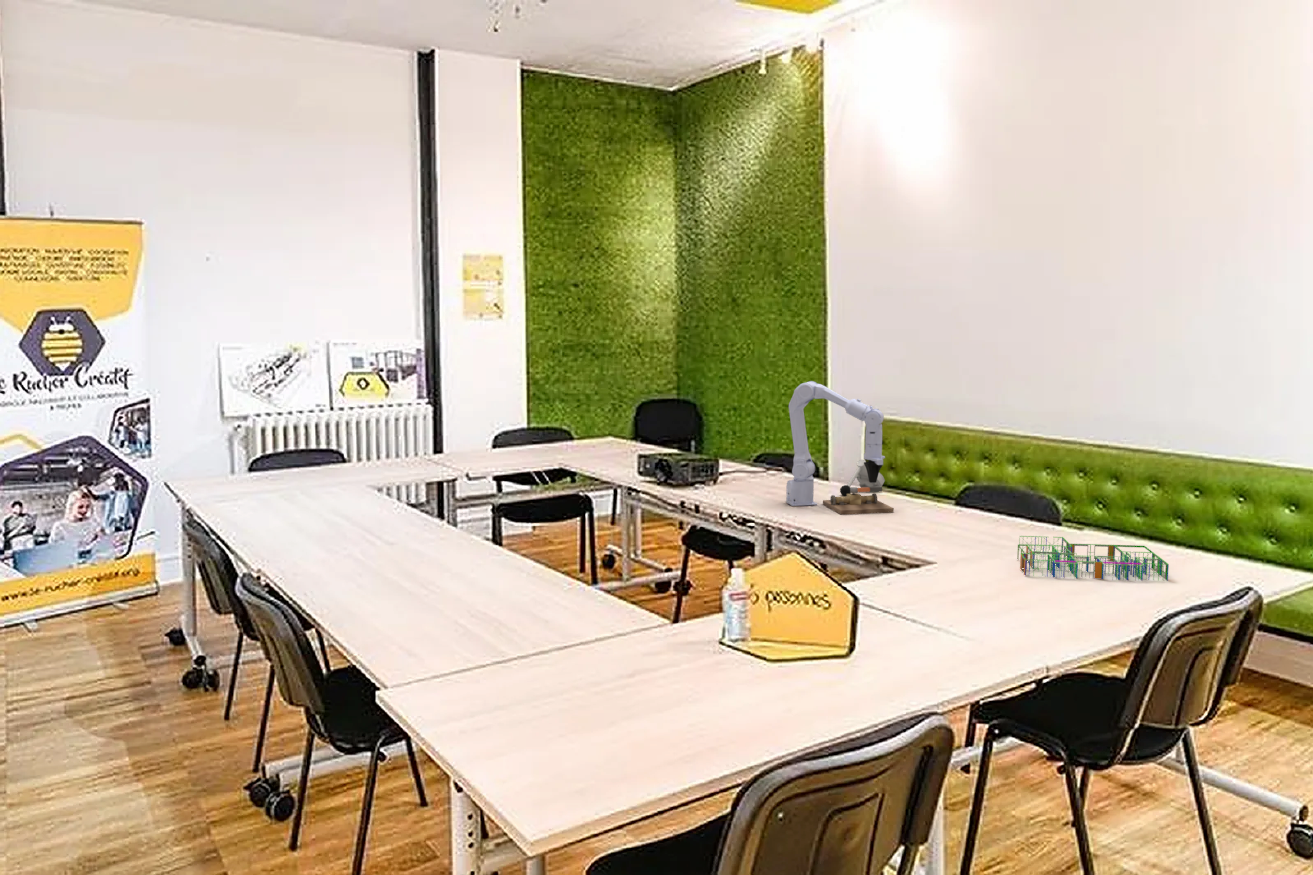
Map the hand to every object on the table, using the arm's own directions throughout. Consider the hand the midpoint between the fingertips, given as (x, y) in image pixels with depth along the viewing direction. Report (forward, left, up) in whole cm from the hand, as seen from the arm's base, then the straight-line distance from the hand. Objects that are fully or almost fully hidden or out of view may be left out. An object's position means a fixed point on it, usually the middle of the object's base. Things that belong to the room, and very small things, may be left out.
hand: (872, 482), depth 356 cm
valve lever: (-2, +2, -4) cm, 5 cm away
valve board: (-5, +1, -9) cm, 11 cm away
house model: (+27, -86, -10) cm, 91 cm away
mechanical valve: (+7, +30, -10) cm, 32 cm away
